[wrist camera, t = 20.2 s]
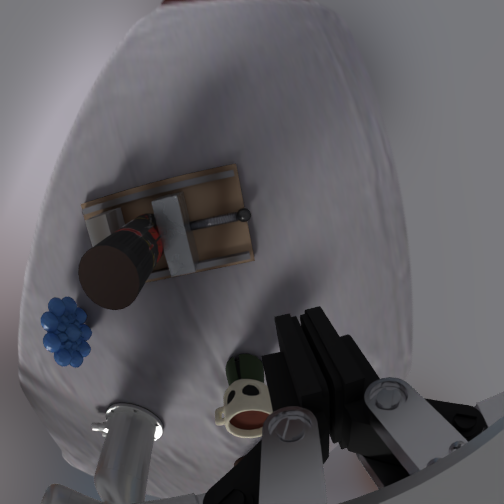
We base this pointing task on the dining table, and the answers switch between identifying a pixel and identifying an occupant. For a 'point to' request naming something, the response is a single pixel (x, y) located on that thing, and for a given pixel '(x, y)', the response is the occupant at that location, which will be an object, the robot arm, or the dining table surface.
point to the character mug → (245, 398)
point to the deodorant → (121, 263)
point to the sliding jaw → (184, 231)
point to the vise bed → (199, 207)
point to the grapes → (66, 332)
